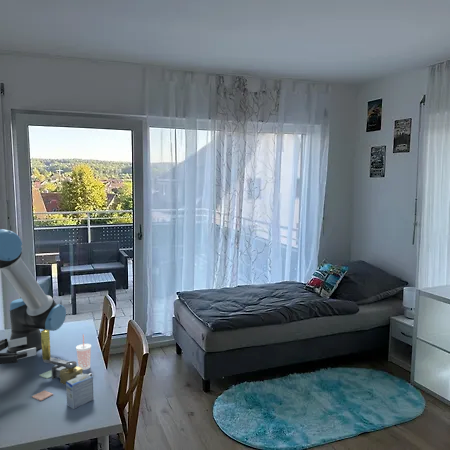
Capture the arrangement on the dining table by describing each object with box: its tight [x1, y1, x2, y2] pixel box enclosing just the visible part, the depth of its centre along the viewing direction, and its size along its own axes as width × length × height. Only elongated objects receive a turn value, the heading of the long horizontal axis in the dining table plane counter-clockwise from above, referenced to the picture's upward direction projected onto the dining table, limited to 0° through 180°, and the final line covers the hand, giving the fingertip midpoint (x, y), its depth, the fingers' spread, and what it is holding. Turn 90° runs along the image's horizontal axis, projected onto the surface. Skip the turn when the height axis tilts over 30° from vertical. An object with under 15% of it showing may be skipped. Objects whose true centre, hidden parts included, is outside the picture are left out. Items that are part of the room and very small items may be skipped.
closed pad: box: [31, 389, 54, 402], centre depth 149 cm, size 5×5×1 cm
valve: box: [50, 365, 93, 386], centre depth 160 cm, size 18×6×6 cm, turn 58°
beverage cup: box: [75, 334, 92, 371], centre depth 172 cm, size 6×6×14 cm
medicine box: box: [65, 373, 95, 410], centre depth 144 cm, size 8×4×9 cm, turn 141°
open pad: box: [38, 369, 52, 380], centre depth 166 cm, size 5×5×1 cm
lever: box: [40, 329, 78, 369], centre depth 161 cm, size 16×4×12 cm, turn 66°
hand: (31, 345), depth 160 cm, fingers open, 13 cm apart
